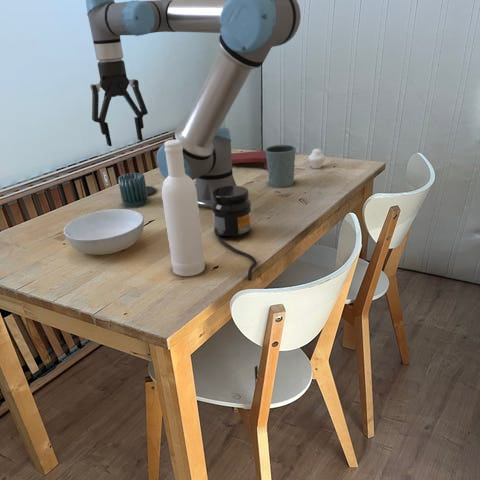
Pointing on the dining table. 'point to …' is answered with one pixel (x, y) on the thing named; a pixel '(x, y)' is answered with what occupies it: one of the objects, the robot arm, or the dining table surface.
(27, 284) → the dining table surface
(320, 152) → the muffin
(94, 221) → the serving bowl
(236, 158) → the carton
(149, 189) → the coaster
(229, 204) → the supplement container
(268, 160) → the green plant pot
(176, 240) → the bottle
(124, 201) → the teal ridged cylinder
